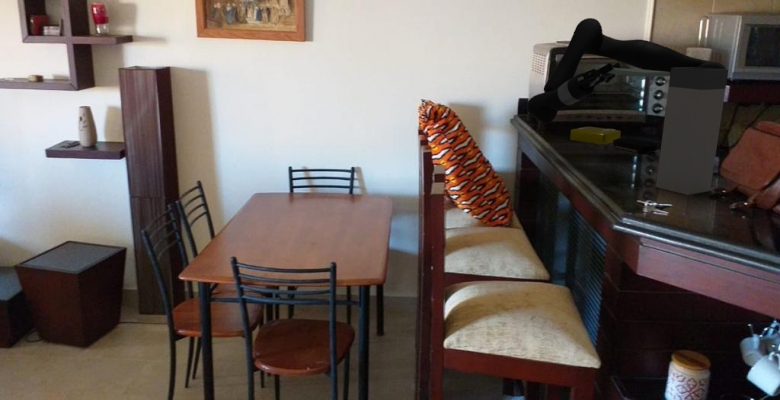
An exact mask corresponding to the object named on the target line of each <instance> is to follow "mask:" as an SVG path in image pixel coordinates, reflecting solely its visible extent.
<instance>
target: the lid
mask: <svg viewBox="0 0 780 400" xmlns="http://www.w3.org/2000/svg"><path fill="white" fill-rule="evenodd" d="M602 67H603V66H598V68H602ZM608 73H609V74H615V75H620V76H621V75H622V76H629V77H630V76H632V77H641V78H654V77H656V78H660V77H670V72H664V71H653V70H643V69H640V68H633V69H632V68H622V67H621V68H613V70H611V71H610V72H608Z"/></svg>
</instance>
